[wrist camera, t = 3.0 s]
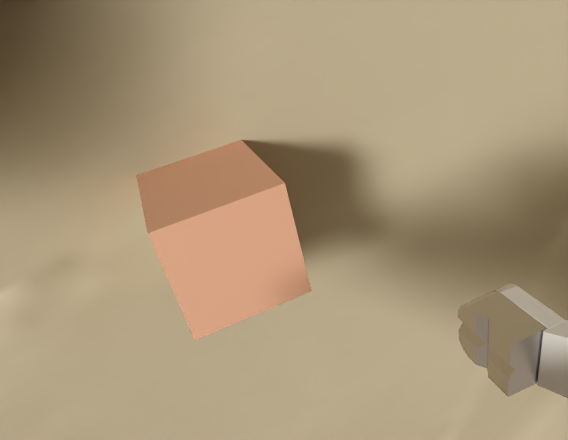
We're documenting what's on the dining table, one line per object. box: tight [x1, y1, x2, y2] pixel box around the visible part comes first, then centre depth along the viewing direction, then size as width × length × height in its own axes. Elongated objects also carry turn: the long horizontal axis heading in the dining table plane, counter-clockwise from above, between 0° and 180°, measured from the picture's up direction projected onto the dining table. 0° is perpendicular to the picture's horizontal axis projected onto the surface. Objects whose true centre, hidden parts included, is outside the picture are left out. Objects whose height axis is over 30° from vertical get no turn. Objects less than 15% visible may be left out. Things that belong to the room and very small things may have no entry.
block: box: [137, 140, 311, 340], centre depth 19 cm, size 5×5×6 cm
